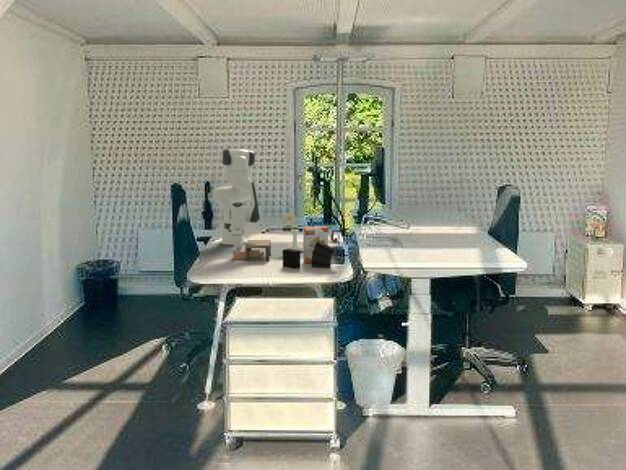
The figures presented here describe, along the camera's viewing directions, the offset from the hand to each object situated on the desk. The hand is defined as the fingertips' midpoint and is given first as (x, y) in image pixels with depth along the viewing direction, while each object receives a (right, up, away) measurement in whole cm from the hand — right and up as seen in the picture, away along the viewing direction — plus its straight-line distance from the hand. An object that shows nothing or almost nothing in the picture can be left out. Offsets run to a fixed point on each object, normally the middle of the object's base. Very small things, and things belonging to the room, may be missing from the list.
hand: (239, 252), depth 417 cm
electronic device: (+33, -8, -25) cm, 42 cm away
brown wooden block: (+5, -4, 0) cm, 6 cm away
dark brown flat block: (+51, -8, -26) cm, 58 cm away
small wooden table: (+12, -4, 0) cm, 12 cm away
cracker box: (+47, -6, -12) cm, 49 cm away
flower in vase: (+33, 0, +19) cm, 38 cm away
